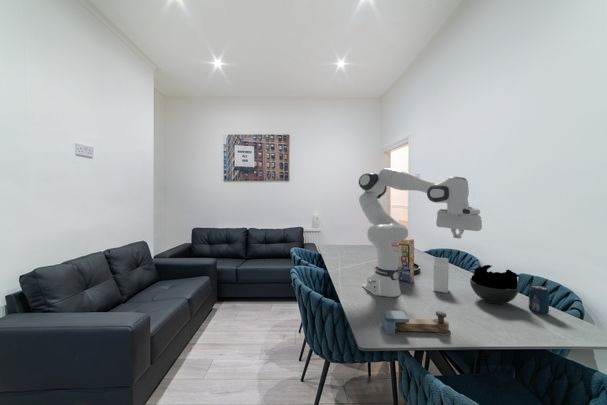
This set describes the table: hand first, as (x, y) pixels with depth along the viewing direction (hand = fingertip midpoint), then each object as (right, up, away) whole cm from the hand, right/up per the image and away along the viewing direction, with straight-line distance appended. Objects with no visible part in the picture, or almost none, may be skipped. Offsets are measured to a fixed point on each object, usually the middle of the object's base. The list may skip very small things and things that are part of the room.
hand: (457, 238), depth 122 cm
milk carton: (+5, -34, +24) cm, 42 cm away
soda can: (+35, -34, -4) cm, 50 cm away
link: (-27, -34, -20) cm, 48 cm away
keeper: (-38, -35, -20) cm, 55 cm away
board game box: (-13, -33, +45) cm, 57 cm away
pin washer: (-19, -35, -21) cm, 45 cm away
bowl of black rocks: (+23, -34, +7) cm, 42 cm away
